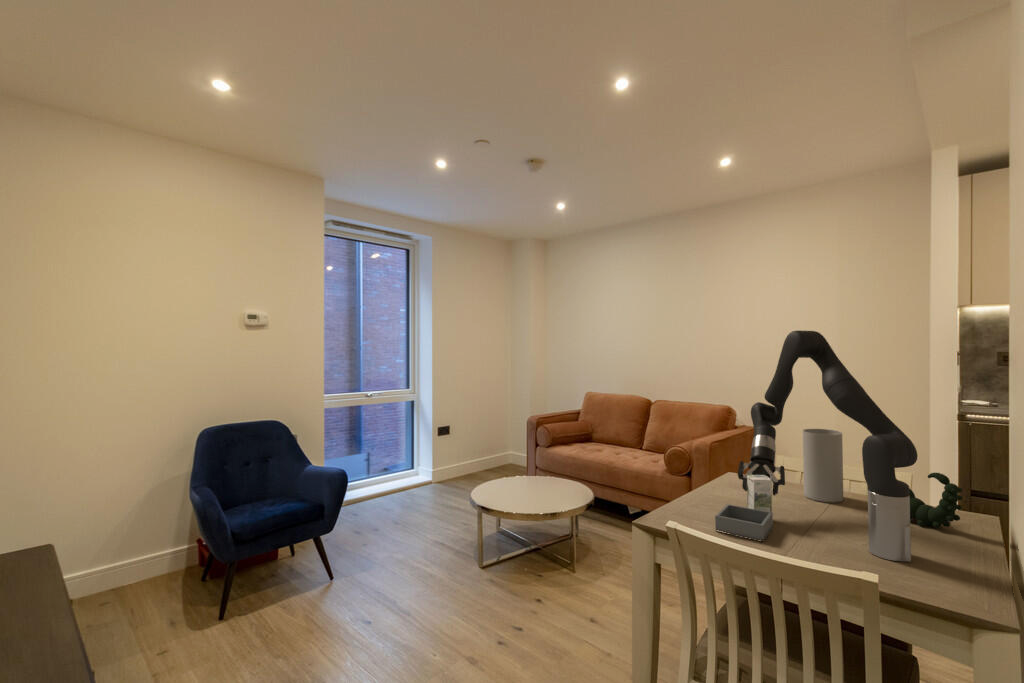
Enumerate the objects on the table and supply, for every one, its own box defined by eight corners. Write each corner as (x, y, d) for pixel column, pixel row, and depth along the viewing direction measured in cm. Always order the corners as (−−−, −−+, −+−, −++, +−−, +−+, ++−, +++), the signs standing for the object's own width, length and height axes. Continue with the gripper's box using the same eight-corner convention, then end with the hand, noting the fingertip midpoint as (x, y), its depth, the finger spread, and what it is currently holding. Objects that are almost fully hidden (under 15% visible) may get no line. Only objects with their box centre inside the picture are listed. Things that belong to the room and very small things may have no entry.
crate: (772, 528, 152) (772, 512, 152) (763, 542, 142) (763, 525, 142) (727, 518, 161) (727, 503, 161) (715, 531, 150) (715, 515, 150)
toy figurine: (965, 538, 146) (882, 504, 170) (971, 478, 145) (886, 452, 169) (943, 542, 144) (862, 507, 168) (949, 481, 142) (866, 454, 166)
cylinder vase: (796, 494, 184) (794, 430, 184) (820, 491, 188) (819, 427, 188) (826, 505, 172) (824, 435, 172) (851, 501, 176) (850, 433, 176)
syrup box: (764, 516, 162) (764, 474, 162) (772, 523, 156) (771, 479, 156) (747, 516, 163) (746, 474, 163) (754, 523, 157) (753, 478, 157)
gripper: (739, 442, 171) (734, 483, 162) (785, 447, 163) (783, 489, 154) (742, 454, 176) (737, 494, 166) (787, 459, 168) (784, 501, 158)
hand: (759, 492), depth 160 cm, fingers open, 8 cm apart
